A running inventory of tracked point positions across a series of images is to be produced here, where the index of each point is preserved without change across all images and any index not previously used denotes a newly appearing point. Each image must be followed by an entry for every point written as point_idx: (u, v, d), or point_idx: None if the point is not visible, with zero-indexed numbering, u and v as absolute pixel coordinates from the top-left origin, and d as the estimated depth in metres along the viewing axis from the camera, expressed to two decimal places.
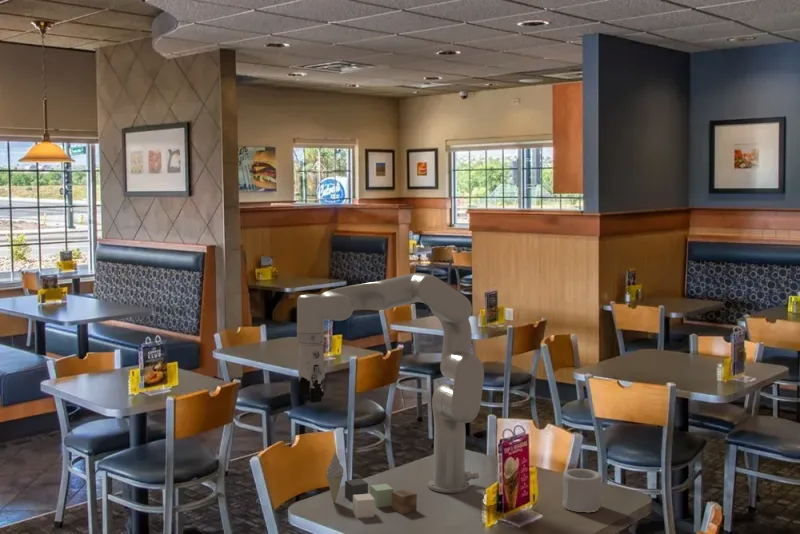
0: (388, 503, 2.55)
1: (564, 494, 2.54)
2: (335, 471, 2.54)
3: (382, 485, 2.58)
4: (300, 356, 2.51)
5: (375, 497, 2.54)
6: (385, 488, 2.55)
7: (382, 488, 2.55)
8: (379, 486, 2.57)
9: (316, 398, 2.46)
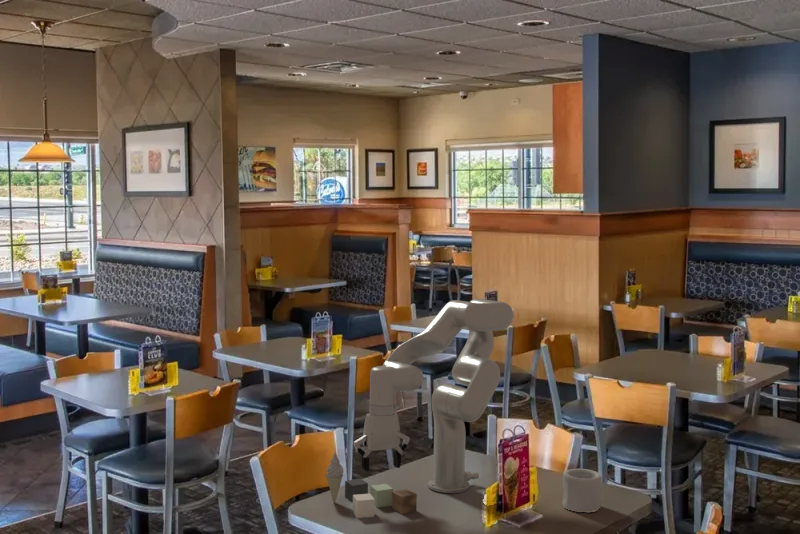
0: (388, 503, 2.55)
1: (564, 494, 2.54)
2: (335, 471, 2.54)
3: (382, 485, 2.58)
4: (381, 430, 2.52)
5: (375, 497, 2.54)
6: (385, 488, 2.55)
7: (382, 488, 2.55)
8: (379, 486, 2.57)
9: None
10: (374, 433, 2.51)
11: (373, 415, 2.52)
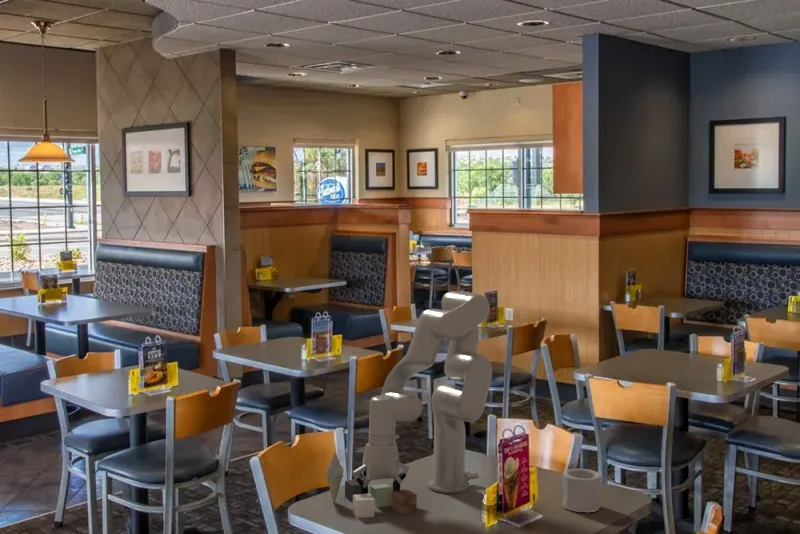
0: (388, 503, 2.55)
1: (564, 494, 2.54)
2: (335, 471, 2.54)
3: (382, 485, 2.58)
4: (380, 459, 2.53)
5: (375, 497, 2.54)
6: (385, 488, 2.55)
7: (382, 488, 2.55)
8: (379, 486, 2.57)
9: None
10: (373, 463, 2.52)
11: (372, 445, 2.52)
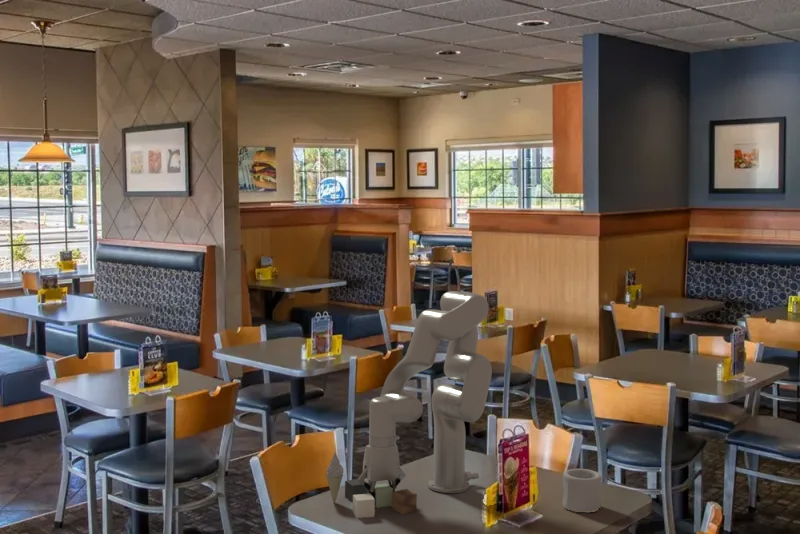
0: (388, 502, 2.55)
1: (564, 494, 2.54)
2: (335, 471, 2.54)
3: (382, 485, 2.58)
4: (381, 461, 2.53)
5: (375, 497, 2.54)
6: (385, 488, 2.55)
7: (382, 488, 2.55)
8: (379, 486, 2.57)
9: None
10: (374, 464, 2.52)
11: (373, 447, 2.52)
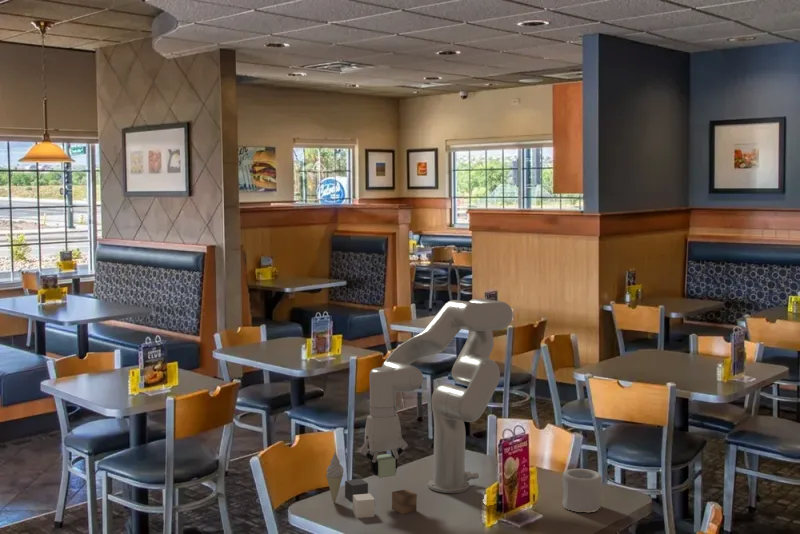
0: (391, 472, 2.54)
1: (564, 494, 2.54)
2: (335, 471, 2.54)
3: (384, 455, 2.57)
4: (382, 431, 2.52)
5: (378, 467, 2.54)
6: (387, 458, 2.55)
7: (384, 458, 2.55)
8: (381, 456, 2.56)
9: None
10: (375, 435, 2.52)
11: (374, 417, 2.52)
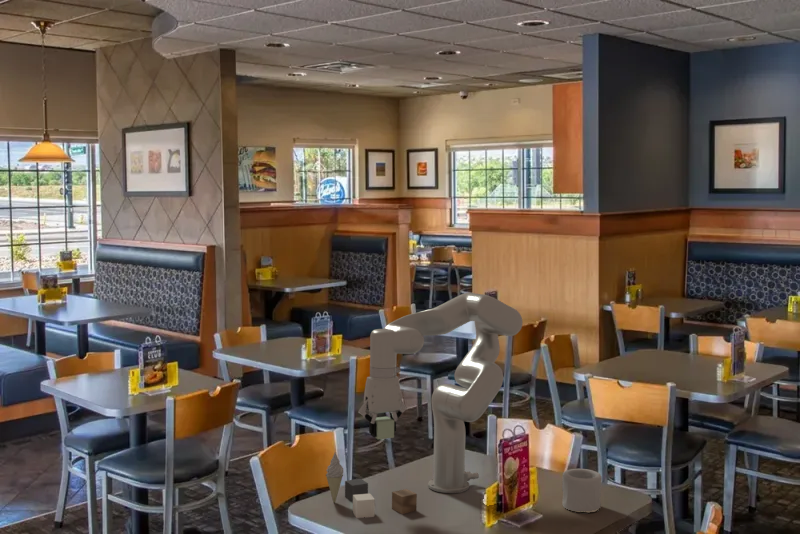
0: (389, 434, 2.53)
1: (564, 494, 2.54)
2: (335, 471, 2.54)
3: (383, 417, 2.56)
4: (382, 392, 2.51)
5: None
6: (386, 420, 2.53)
7: (383, 420, 2.53)
8: (380, 418, 2.55)
9: None
10: (375, 396, 2.51)
11: (374, 378, 2.51)
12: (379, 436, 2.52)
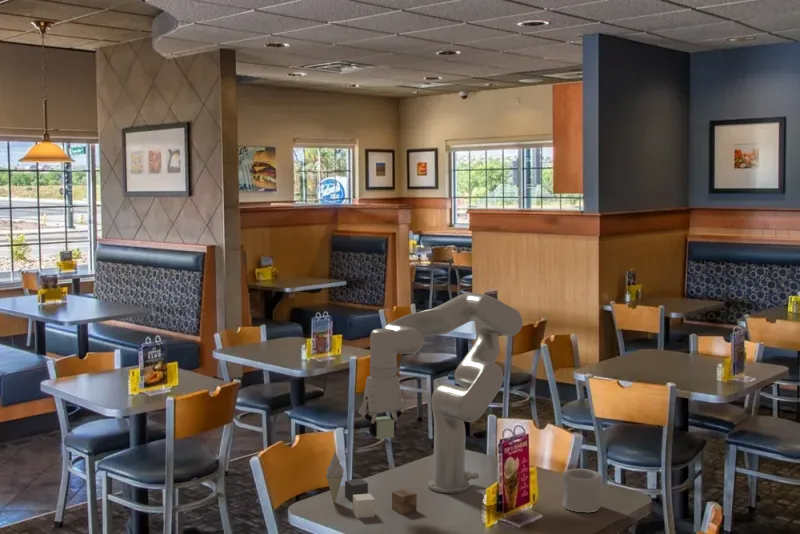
0: (389, 434, 2.53)
1: (564, 494, 2.54)
2: (335, 471, 2.54)
3: (383, 417, 2.56)
4: (382, 392, 2.51)
5: None
6: (386, 420, 2.53)
7: (383, 420, 2.53)
8: (380, 418, 2.55)
9: None
10: (375, 395, 2.51)
11: (374, 377, 2.51)
12: (379, 436, 2.52)
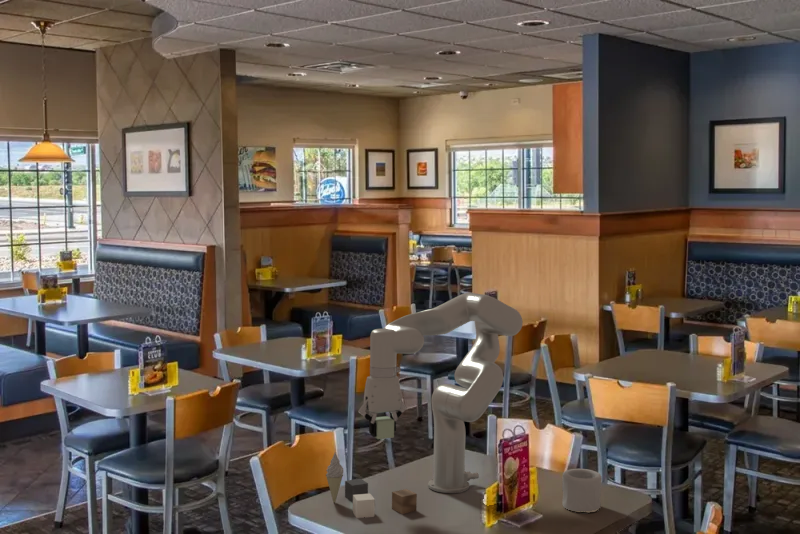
0: (389, 434, 2.53)
1: (564, 494, 2.54)
2: (335, 471, 2.54)
3: (383, 417, 2.56)
4: (382, 392, 2.51)
5: None
6: (386, 420, 2.53)
7: (383, 420, 2.53)
8: (380, 418, 2.55)
9: None
10: (375, 395, 2.51)
11: (374, 377, 2.51)
12: (379, 436, 2.52)
